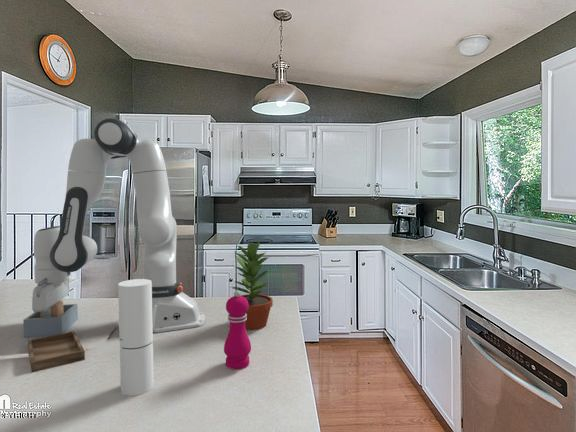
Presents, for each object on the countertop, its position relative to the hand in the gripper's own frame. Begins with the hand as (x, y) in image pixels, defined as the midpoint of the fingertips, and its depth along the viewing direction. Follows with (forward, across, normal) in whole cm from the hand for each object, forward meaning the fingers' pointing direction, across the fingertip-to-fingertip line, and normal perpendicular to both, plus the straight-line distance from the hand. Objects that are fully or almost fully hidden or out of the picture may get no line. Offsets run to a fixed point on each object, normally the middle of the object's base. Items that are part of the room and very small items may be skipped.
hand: (52, 316), depth 122 cm
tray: (+5, -20, -8) cm, 22 cm away
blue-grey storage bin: (+5, 0, 0) cm, 5 cm away
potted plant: (+5, -8, -65) cm, 66 cm away
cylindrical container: (+5, -44, -34) cm, 56 cm away
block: (+4, 0, 0) cm, 4 cm away
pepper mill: (+5, -37, -58) cm, 69 cm away
